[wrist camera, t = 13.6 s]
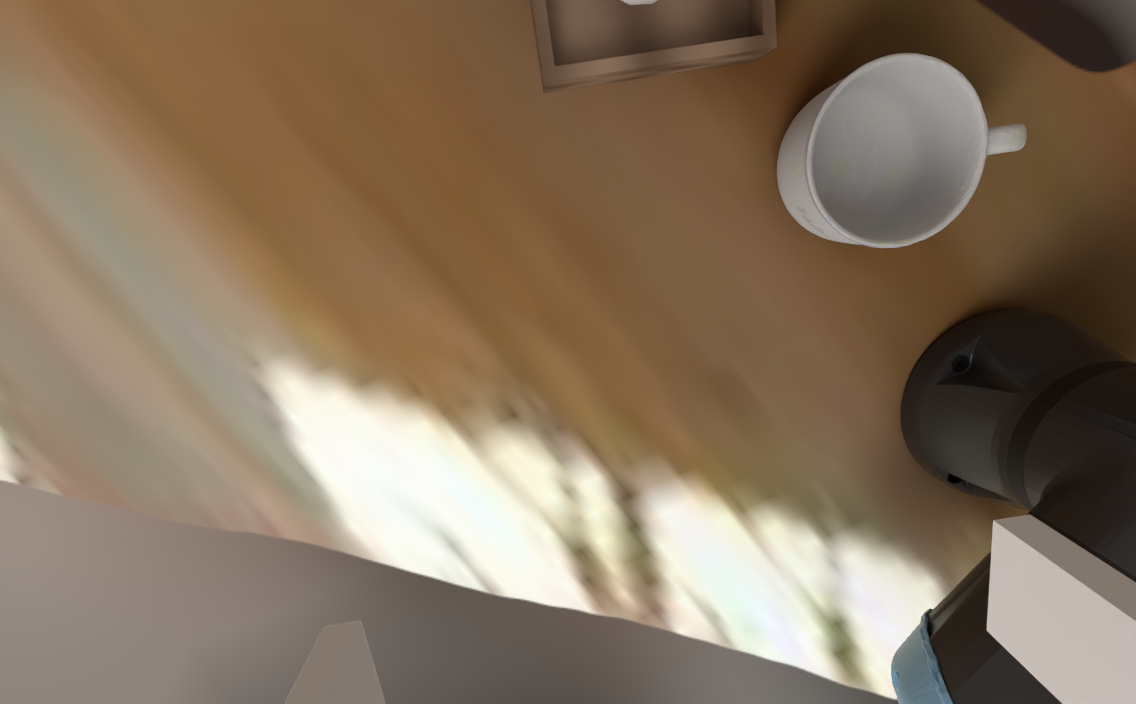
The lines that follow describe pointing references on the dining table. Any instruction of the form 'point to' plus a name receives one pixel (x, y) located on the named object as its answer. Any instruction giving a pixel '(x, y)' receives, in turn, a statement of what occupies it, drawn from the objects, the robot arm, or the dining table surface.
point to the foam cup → (639, 1)
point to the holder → (646, 38)
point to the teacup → (889, 152)
